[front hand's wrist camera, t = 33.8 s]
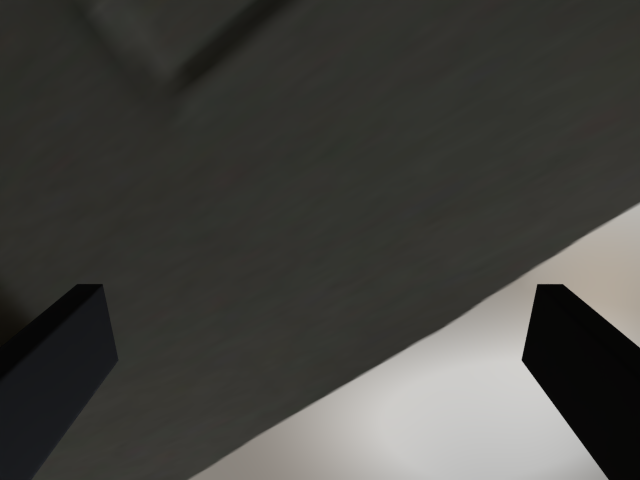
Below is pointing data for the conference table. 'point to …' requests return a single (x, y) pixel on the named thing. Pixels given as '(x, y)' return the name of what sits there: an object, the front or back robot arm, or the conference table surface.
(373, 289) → the conference table surface
